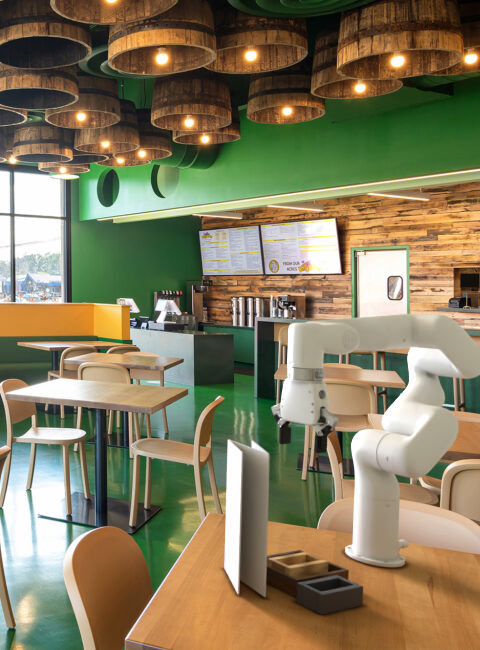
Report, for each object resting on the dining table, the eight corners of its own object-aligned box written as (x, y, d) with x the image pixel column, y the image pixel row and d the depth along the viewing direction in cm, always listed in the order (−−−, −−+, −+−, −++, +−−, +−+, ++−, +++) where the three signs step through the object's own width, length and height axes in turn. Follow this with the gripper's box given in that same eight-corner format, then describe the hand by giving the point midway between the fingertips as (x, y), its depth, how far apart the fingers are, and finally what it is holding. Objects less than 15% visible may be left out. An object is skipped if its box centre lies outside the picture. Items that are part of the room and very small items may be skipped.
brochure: (265, 597, 139) (269, 454, 139) (238, 594, 140) (241, 452, 140) (249, 570, 153) (253, 440, 153) (224, 568, 154) (227, 439, 154)
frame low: (336, 593, 142) (336, 574, 142) (362, 605, 137) (363, 586, 137) (296, 602, 138) (296, 582, 138) (321, 614, 132) (322, 594, 132)
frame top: (304, 568, 154) (305, 551, 154) (327, 579, 149) (328, 561, 148) (266, 576, 149) (267, 558, 149) (289, 586, 144) (289, 568, 144)
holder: (299, 564, 158) (299, 549, 158) (348, 586, 146) (348, 569, 146) (248, 574, 152) (249, 558, 152) (296, 597, 140) (296, 580, 140)
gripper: (349, 379, 149) (347, 455, 149) (285, 371, 165) (282, 439, 165) (326, 380, 146) (323, 457, 146) (263, 371, 162) (260, 441, 162)
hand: (302, 448), depth 156 cm, fingers open, 9 cm apart
